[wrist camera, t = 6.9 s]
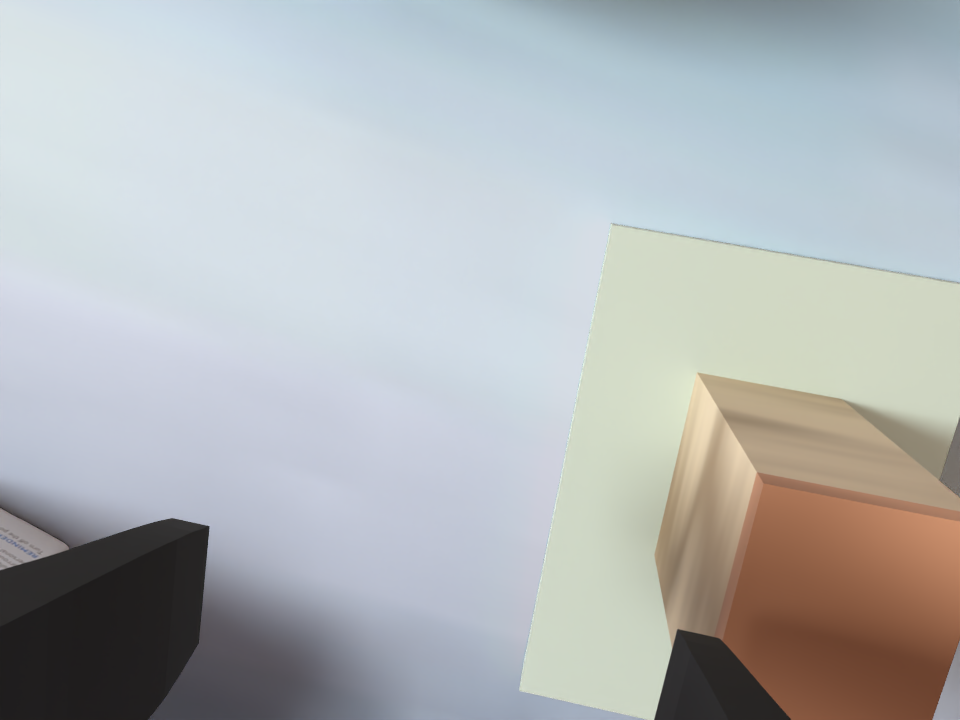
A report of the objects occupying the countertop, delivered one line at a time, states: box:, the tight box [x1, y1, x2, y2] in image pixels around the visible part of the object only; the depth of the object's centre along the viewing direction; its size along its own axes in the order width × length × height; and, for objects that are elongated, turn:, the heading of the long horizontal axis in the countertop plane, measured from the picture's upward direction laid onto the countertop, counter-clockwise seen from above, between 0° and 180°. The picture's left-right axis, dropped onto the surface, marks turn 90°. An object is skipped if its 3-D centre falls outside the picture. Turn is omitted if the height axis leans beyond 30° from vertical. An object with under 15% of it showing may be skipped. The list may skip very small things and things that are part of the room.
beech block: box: [654, 372, 960, 720], centre depth 16 cm, size 5×4×8 cm
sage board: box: [519, 223, 960, 720], centre depth 21 cm, size 13×9×1 cm
